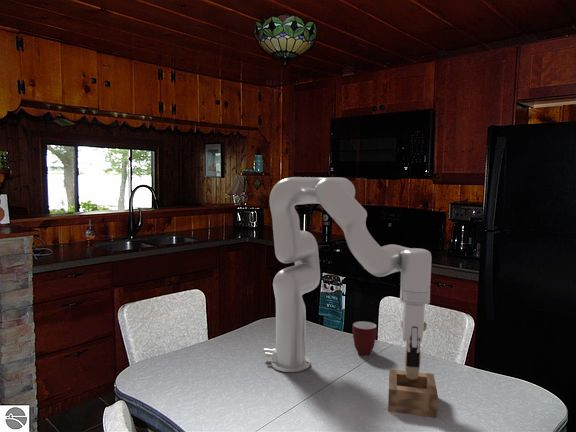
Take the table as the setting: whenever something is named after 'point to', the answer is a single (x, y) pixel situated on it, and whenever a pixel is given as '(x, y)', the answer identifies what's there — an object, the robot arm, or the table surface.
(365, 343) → the mug
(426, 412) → the block
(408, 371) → the handle
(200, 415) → the table surface
